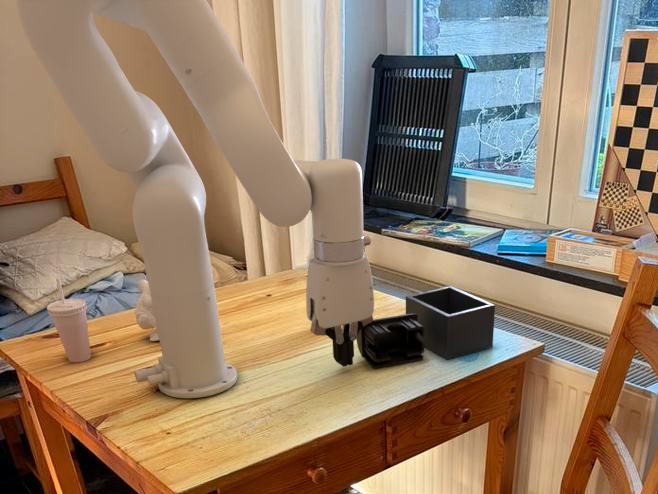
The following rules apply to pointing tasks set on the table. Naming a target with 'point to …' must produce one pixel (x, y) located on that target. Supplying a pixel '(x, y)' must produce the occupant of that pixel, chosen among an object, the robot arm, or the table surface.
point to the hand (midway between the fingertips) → (343, 362)
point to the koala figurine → (146, 311)
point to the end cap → (391, 341)
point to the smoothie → (71, 326)
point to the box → (453, 321)
